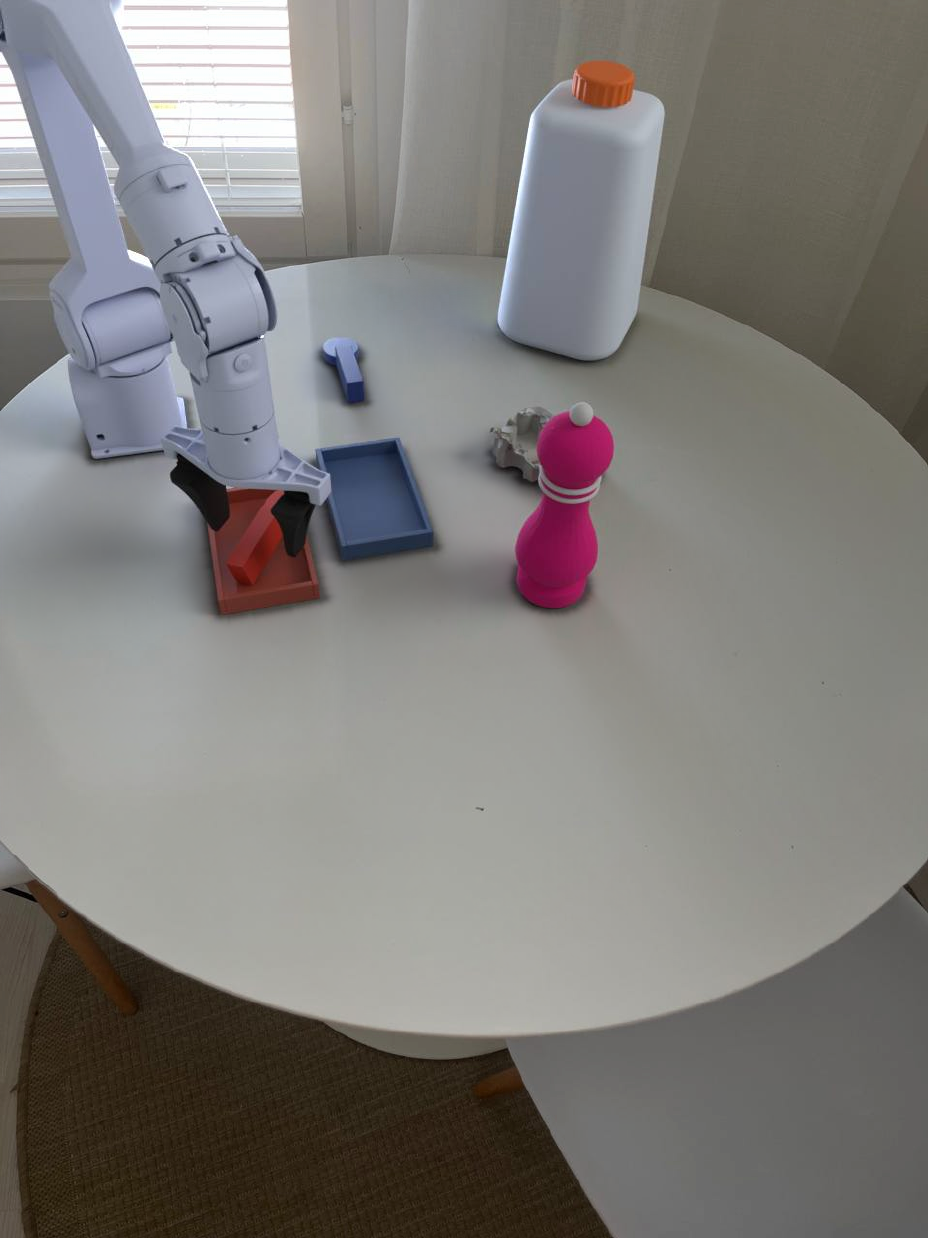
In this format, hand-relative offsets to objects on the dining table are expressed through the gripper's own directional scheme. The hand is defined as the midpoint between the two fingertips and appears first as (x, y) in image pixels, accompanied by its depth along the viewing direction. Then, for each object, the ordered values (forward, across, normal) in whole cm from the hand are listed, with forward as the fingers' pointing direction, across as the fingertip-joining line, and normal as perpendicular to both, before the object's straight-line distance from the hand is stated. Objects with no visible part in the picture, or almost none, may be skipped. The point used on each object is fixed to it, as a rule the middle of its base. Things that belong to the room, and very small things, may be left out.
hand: (258, 536), depth 80 cm
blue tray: (+3, -6, -11) cm, 13 cm away
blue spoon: (+3, +6, -29) cm, 30 cm away
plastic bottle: (+3, -14, -50) cm, 52 cm away
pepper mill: (+3, -25, -8) cm, 27 cm away
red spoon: (+2, 0, -2) cm, 3 cm away
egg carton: (+3, -19, -24) cm, 31 cm away
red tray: (+3, +1, -1) cm, 4 cm away
